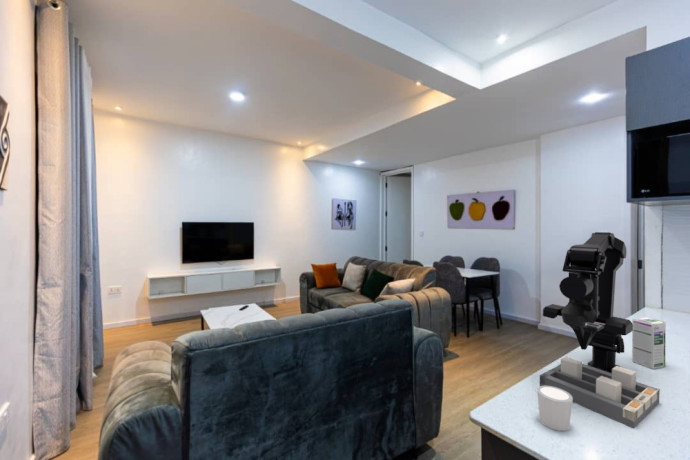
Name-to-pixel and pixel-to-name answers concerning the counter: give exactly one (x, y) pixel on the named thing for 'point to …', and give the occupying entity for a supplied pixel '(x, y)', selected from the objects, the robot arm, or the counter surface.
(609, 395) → the cream rectangular block
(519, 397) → the counter surface
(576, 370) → the beige rectangular block
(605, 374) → the switch bank
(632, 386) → the tab
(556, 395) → the white cup
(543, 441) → the counter surface
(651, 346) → the syrup box
